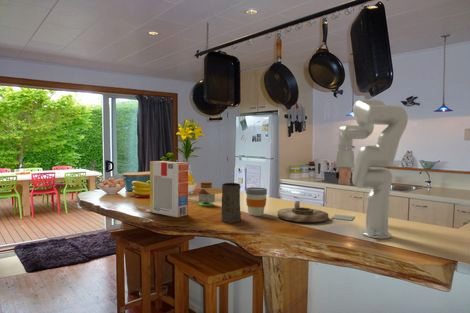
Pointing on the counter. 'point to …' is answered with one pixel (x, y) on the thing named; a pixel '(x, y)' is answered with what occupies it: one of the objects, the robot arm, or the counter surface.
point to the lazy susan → (302, 214)
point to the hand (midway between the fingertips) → (344, 179)
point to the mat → (343, 217)
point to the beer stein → (231, 203)
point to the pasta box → (169, 188)
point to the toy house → (206, 195)
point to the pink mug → (344, 176)
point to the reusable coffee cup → (256, 200)
